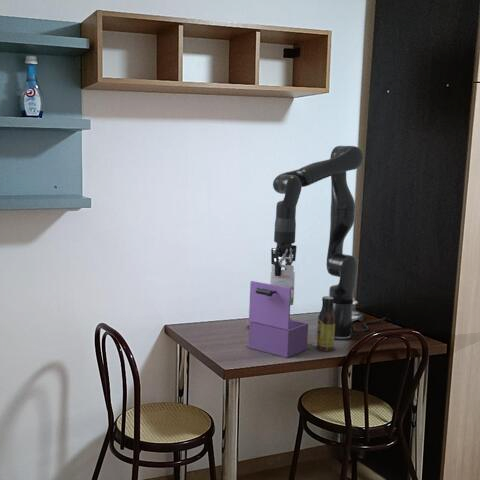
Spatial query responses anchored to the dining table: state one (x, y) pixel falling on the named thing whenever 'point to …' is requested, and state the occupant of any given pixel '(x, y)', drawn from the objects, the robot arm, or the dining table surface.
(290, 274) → the ink box
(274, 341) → the box
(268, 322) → the file box lid
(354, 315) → the toy car
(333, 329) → the sauce bottle
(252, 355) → the dining table surface
